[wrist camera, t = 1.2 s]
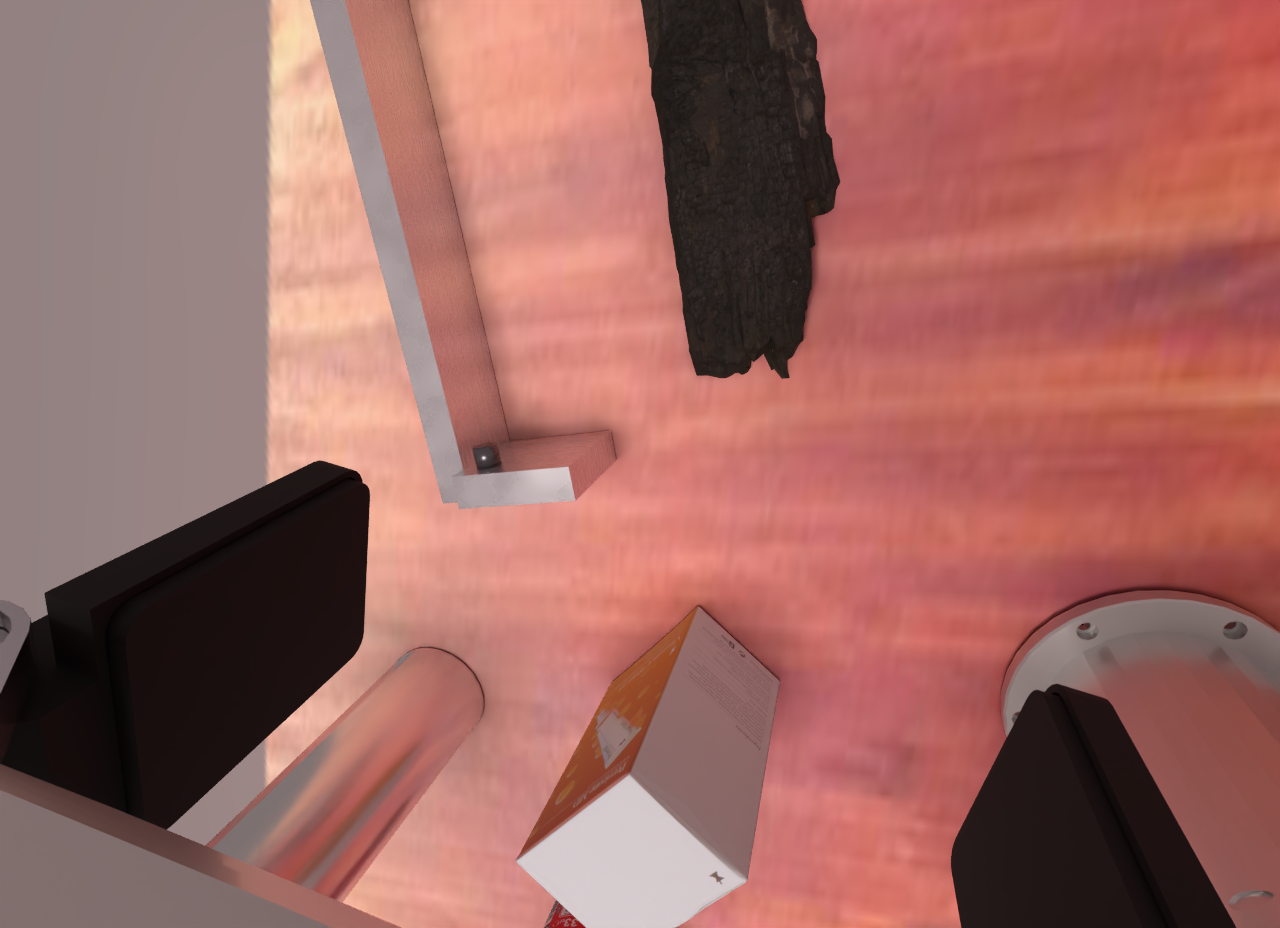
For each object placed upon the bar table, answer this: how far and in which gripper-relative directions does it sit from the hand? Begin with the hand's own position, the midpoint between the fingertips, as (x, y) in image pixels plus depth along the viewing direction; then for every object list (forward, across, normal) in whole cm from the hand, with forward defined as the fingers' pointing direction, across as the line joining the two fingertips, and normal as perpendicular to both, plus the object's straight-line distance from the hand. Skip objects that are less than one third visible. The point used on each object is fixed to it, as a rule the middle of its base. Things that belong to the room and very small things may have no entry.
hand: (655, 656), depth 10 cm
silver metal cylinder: (+25, +15, +27) cm, 40 cm away
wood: (+26, +4, -8) cm, 28 cm away
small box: (+25, 0, +20) cm, 32 cm away
